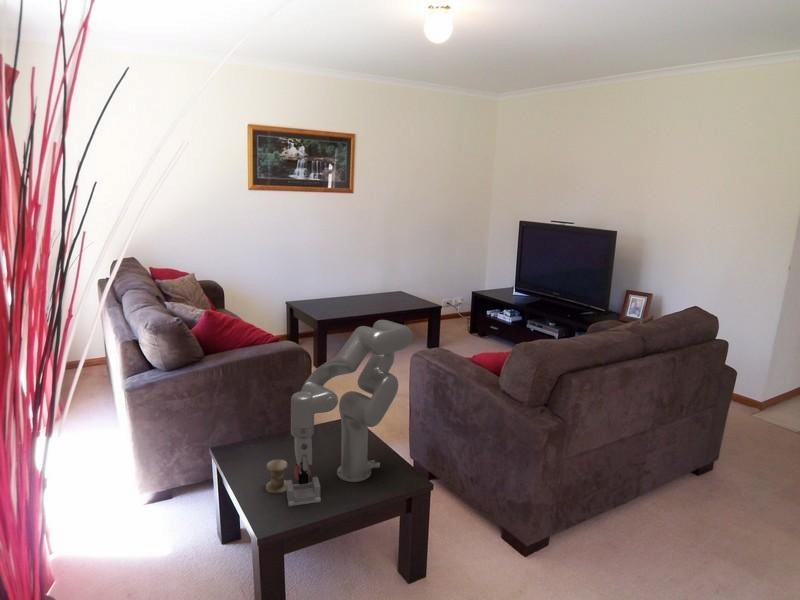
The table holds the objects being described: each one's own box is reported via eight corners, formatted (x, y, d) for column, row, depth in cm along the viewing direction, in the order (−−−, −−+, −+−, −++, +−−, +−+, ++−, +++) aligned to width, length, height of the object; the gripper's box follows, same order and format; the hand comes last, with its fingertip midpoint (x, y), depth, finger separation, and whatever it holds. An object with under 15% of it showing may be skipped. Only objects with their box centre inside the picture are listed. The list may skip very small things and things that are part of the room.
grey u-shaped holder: (317, 487, 190) (317, 475, 189) (320, 501, 182) (320, 488, 181) (286, 492, 187) (286, 478, 186) (288, 506, 179) (288, 492, 178)
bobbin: (288, 479, 194) (287, 457, 193) (290, 491, 187) (289, 468, 185) (265, 482, 192) (264, 460, 190) (266, 495, 185) (265, 471, 183)
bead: (309, 474, 186) (309, 459, 185) (311, 482, 181) (311, 467, 180) (292, 476, 184) (292, 461, 183) (294, 484, 179) (294, 469, 178)
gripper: (317, 439, 172) (317, 491, 176) (310, 417, 188) (310, 465, 192) (293, 441, 170) (293, 494, 174) (288, 419, 186) (288, 467, 190)
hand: (302, 478), depth 183 cm, fingers closed on bead, 5 cm apart
